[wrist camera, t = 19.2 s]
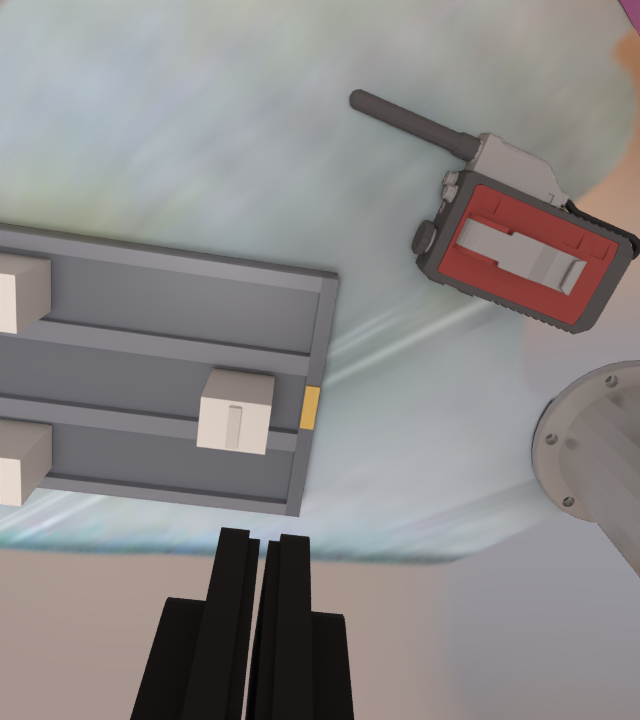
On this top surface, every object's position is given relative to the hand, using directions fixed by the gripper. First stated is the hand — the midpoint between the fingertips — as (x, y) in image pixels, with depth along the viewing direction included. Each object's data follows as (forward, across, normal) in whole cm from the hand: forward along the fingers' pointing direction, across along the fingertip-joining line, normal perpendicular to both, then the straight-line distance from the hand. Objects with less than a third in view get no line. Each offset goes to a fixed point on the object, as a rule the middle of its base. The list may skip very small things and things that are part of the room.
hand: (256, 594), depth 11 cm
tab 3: (+26, +2, +7) cm, 27 cm away
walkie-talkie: (+28, -11, -6) cm, 30 cm away
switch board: (+27, +9, +8) cm, 30 cm away
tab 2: (+26, +16, +13) cm, 33 cm away
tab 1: (+26, +16, +2) cm, 30 cm away
